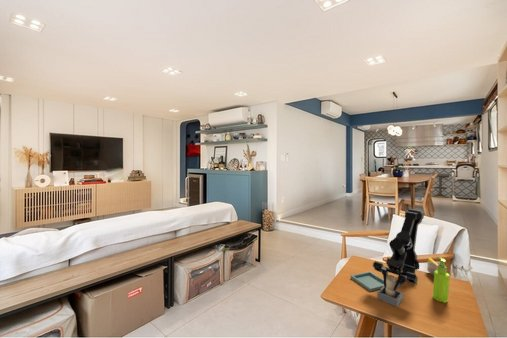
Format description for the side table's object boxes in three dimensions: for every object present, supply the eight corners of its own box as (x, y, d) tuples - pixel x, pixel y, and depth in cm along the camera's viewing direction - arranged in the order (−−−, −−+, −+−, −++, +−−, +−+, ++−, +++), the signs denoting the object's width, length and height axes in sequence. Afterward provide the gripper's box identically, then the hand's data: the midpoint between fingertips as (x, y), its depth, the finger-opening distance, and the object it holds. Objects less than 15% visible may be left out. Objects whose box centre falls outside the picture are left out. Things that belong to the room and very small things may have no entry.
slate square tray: (383, 293, 122) (383, 285, 122) (402, 300, 116) (403, 292, 116) (377, 300, 116) (377, 292, 116) (397, 308, 110) (397, 300, 110)
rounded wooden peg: (389, 295, 119) (390, 274, 118) (396, 300, 115) (397, 278, 114) (383, 297, 117) (384, 275, 116) (390, 302, 114) (391, 279, 113)
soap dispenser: (443, 295, 120) (446, 257, 119) (450, 303, 114) (452, 263, 113) (430, 293, 122) (432, 255, 121) (435, 301, 116) (438, 261, 114)
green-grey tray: (369, 274, 140) (369, 271, 140) (390, 287, 127) (390, 283, 127) (350, 279, 135) (350, 275, 135) (370, 292, 122) (370, 288, 122)
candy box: (426, 270, 146) (427, 257, 145) (430, 271, 146) (431, 257, 145) (441, 285, 130) (442, 270, 130) (445, 285, 130) (446, 270, 129)
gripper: (374, 246, 124) (365, 273, 117) (417, 257, 110) (409, 290, 104) (379, 256, 130) (370, 283, 123) (420, 268, 116) (413, 299, 110)
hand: (389, 288), depth 115 cm, fingers closed on rounded wooden peg, 4 cm apart
